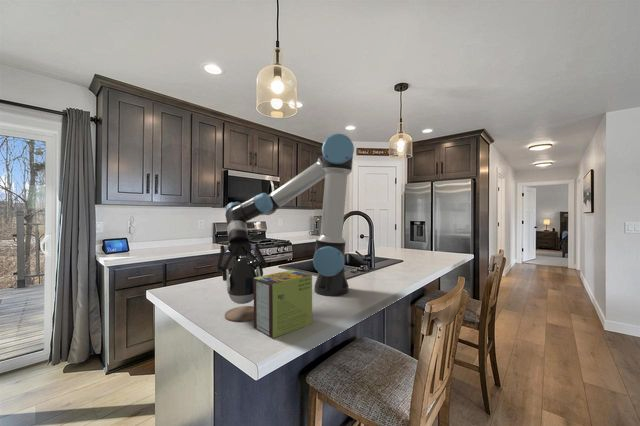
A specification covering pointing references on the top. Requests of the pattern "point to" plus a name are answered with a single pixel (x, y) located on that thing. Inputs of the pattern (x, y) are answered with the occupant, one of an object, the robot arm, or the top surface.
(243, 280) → the pump dispenser
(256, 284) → the protein box
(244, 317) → the walnut trivet
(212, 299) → the top surface
